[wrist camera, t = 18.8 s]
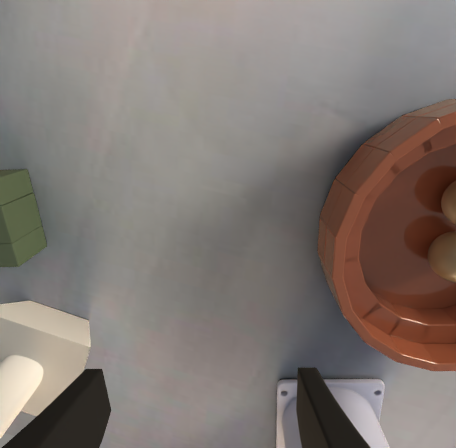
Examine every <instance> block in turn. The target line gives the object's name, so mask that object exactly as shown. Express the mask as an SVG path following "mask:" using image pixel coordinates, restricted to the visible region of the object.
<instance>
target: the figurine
mask: <svg viewBox="0 0 456 448" xmlns="http://www.w3.org/2000/svg"><path fill="white" fill-rule="evenodd" d="M90 348H91V344H90V331H89V320H86V319H83V318H80V317H77V316H74V315H71V314H68V313H65V312H62V311H59V310H56V309H53V308H50V307H48V306H45V305H42V304H39V303H36V302H33V301H23V302H16V303H8V304H0V438H1V437H2V436H3V434H4V433H5V432H6V430H7V429H8V427H9V426H10V425H11V423H12V422H13V420H14V419H15V418H16V416H17V415H18V414H19V412H20V411H22V412H25V413H28V414H31V415H35V416H38V415H39V414H40V413H41V412H42V411H43V410H44V409H45V408H46V407H47V406H48V405H49V404H51V403H52V402H53V401H54V400H55V399H56V398H57V397H58V396H59V395H60V394H61V393H62V392H63V391H64V390H65V389H66V388H67V387H68V386H69V385H70V384H71V383H72V382H73V381H74V380H75V379H76V378H77V377H78V376H79V375H80V374H81V373H82V372H83V371H84V368H85V364H86V361H87V358H88V355H89V351H90Z"/></svg>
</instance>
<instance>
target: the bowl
mask: <svg viewBox="0 0 456 448" xmlns="http://www.w3.org/2000/svg"><path fill="white" fill-rule="evenodd" d="M454 181H456V99H448V100H444V101H441V102H438V103H435V104H433V105H430V106H427V107H424V108H422V109H419V110H416V111H413V112H410V113H408V114H405V115H402V116H401V117H399V118H398V119H397V120H395V121H394V122H392V123H391V124H390V125H388V126H387V127H385V128H384V129H383V130H381V131H380V132H378V133H377V134H376V135H374V136H373V137H371V138H370V139H369V140H367V141H366V142H364V144H362V145H361V146H360V148H359V149H358V150H357V151H356V153H355V154H354V155H353V156H352V158H351V159H350V160H349V161H348V163H347V164H346V165H345V166H344V168H343V169H342V170H341V171H340V173H339V174H338V175H337V176H336V178H335V179H334V181H333V184H332V186H331V189H330V191H329V194H328V196H327V199H326V201H325V204H324V206H323V209H322V211H321V214H320V219H319V236H318V255H319V259H320V262H321V265H322V269H323V272H324V275H325V278H326V282H327V284H328V286H329V288H330V290H331V292H332V294H333V296H334V298H335V300H336V302H337V304H338V306H339V308H340V310H341V312H342V314H343V316H344V317H345V318H346V319H347V321H348V322H349V323H350V325H351V326H352V327H353V328H354V330H355V331H356V332H357V333H358V335H359V336H360V337H361V339H362V340H363V341H364V342H365V343H366V344H368V345H370V346H371V347H373V348H374V349H376V350H378V351H379V352H381V353H382V354H384V355H386V356H387V357H389V358H391V359H392V360H394V361H396V362H399V363H403V364H407V365H411V366H415V367H419V368H422V369H426V370H430V371H456V283H455V282H450V281H447V280H445V279H443V278H441V277H440V276H438V275H437V274H436V273H435V272H434V271H433V270H432V268H431V267H430V265H429V262H428V256H427V255H428V249H429V247H430V245H431V243H432V242H433V241H434V240H435V239H436V238H437V237H438V236H440V235H442V234H444V233H447V232H452V231H456V225H454V224H453V223H451V222H450V221H449V220H448V219H447V218H446V217H445V215H444V213H443V211H442V207H441V199H442V196H443V193H444V192H445V190H446V189H447V187H448V186H449V185H450V184H451V183H453V182H454Z"/></svg>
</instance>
